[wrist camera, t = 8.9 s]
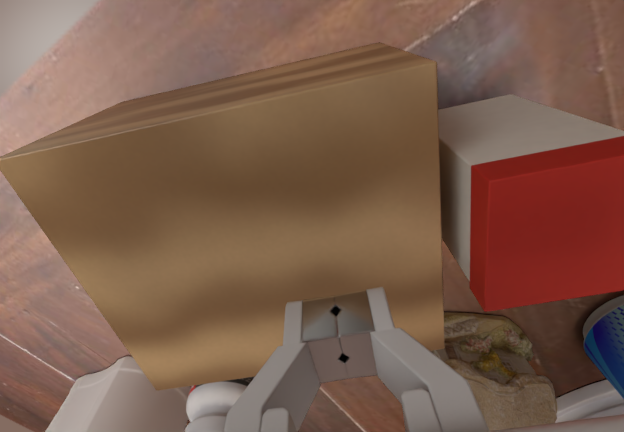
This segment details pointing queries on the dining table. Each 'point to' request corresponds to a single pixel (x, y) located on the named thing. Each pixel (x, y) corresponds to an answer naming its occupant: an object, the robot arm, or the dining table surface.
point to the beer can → (607, 341)
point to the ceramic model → (498, 370)
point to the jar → (121, 403)
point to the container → (531, 201)
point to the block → (248, 207)
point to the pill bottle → (213, 404)
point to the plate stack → (590, 402)
